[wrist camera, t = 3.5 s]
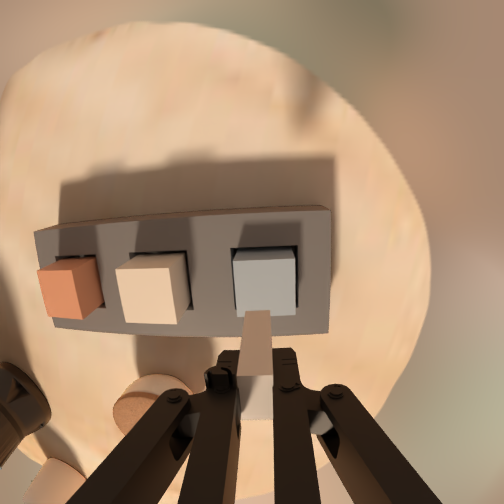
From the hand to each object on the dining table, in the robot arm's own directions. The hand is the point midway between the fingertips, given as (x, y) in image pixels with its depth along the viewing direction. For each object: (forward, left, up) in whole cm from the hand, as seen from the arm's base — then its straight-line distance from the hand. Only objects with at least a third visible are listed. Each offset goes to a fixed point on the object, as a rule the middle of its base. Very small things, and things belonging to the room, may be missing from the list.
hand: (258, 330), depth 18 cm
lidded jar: (-14, -18, -15) cm, 27 cm away
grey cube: (0, 0, -12) cm, 12 cm away
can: (-51, -54, -15) cm, 75 cm away
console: (-10, 0, -15) cm, 18 cm away
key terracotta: (-20, 0, -11) cm, 22 cm away
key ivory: (-10, 0, -11) cm, 14 cm away
